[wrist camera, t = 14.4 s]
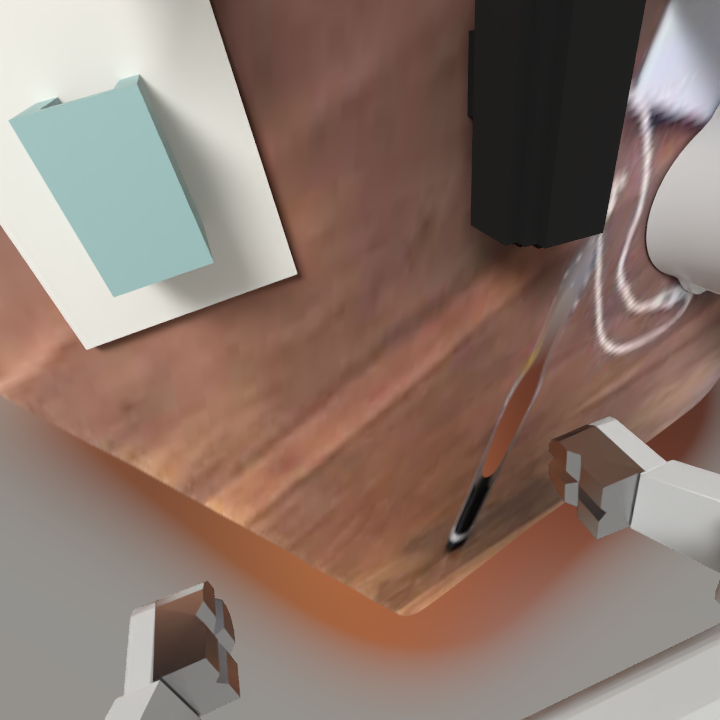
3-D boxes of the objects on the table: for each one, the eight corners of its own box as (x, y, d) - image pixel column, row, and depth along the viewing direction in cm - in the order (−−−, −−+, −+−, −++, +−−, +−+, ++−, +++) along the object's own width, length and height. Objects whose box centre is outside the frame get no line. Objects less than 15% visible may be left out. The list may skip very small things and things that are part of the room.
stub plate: (182, -76, 23) (187, -91, 20) (294, 268, 34) (306, 289, 31) (-143, 1, 21) (-187, -4, 18) (88, 341, 32) (82, 371, 29)
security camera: (549, -156, 26) (722, -237, 18) (521, 195, 37) (622, 239, 29) (430, -148, 25) (562, -232, 17) (437, 215, 35) (519, 267, 27)
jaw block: (139, 74, 24) (136, 84, 20) (203, 225, 29) (213, 262, 25) (36, 103, 24) (8, 120, 19) (119, 253, 28) (113, 297, 24)
